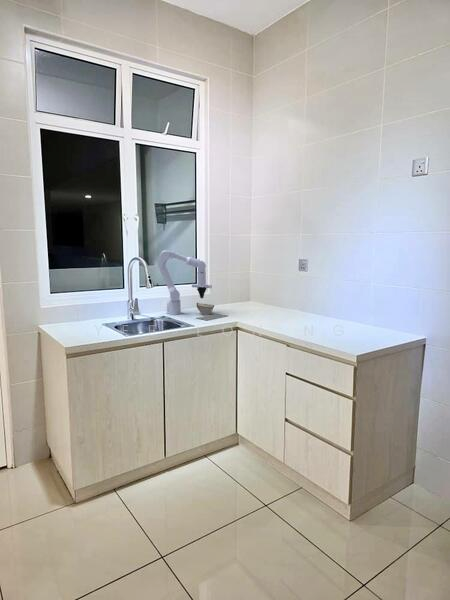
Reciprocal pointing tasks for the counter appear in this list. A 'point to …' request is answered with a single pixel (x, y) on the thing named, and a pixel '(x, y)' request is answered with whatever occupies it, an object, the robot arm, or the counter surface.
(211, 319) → the mat
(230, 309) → the counter surface
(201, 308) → the food container
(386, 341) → the counter surface
